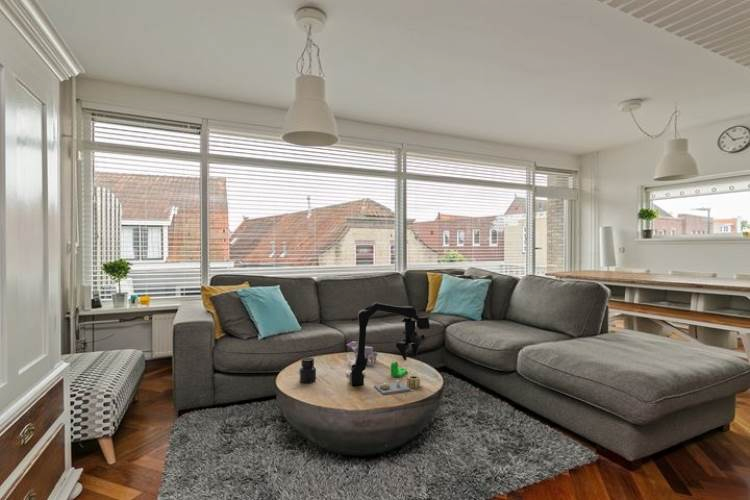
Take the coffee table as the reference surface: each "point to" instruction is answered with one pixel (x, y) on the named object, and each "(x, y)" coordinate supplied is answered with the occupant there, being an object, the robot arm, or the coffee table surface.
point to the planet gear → (413, 381)
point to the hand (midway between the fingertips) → (410, 358)
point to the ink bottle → (307, 370)
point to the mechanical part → (397, 370)
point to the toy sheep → (367, 351)
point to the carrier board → (392, 388)
